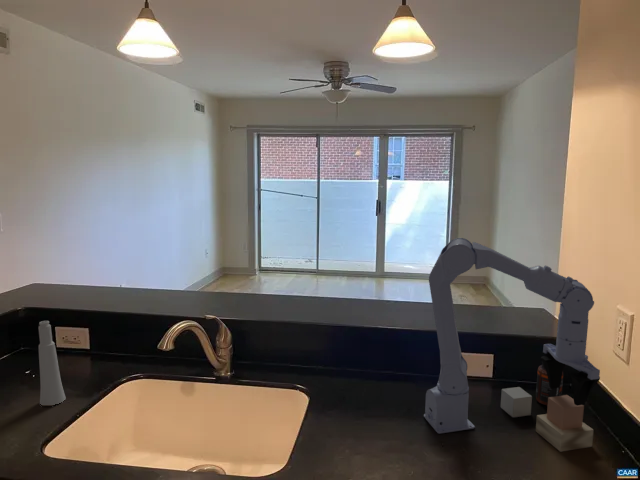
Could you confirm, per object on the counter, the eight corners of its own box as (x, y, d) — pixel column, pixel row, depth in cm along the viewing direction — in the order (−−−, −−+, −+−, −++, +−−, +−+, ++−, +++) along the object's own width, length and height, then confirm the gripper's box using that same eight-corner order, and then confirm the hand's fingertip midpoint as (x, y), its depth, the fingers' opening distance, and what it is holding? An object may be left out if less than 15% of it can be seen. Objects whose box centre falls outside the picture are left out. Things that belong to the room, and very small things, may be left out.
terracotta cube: (562, 430, 102) (564, 408, 101) (546, 418, 107) (548, 397, 106) (581, 427, 103) (583, 405, 103) (565, 415, 108) (567, 394, 107)
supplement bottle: (564, 408, 119) (567, 366, 117) (538, 406, 120) (541, 364, 118) (557, 397, 124) (560, 356, 123) (533, 395, 126) (536, 354, 124)
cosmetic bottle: (63, 404, 123) (55, 324, 119) (37, 409, 121) (27, 327, 117) (67, 394, 128) (59, 316, 125) (42, 398, 126) (33, 319, 123)
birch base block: (560, 451, 101) (561, 434, 101) (535, 431, 109) (536, 415, 108) (591, 446, 103) (593, 429, 102) (565, 426, 111) (566, 410, 110)
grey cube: (512, 417, 115) (513, 398, 114) (500, 407, 120) (501, 389, 119) (530, 415, 116) (532, 396, 115) (518, 405, 121) (519, 386, 120)
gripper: (614, 348, 96) (608, 410, 98) (563, 324, 110) (559, 378, 112) (585, 351, 94) (579, 414, 97) (536, 327, 108) (532, 382, 111)
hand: (566, 395), depth 104 cm, fingers open, 7 cm apart
